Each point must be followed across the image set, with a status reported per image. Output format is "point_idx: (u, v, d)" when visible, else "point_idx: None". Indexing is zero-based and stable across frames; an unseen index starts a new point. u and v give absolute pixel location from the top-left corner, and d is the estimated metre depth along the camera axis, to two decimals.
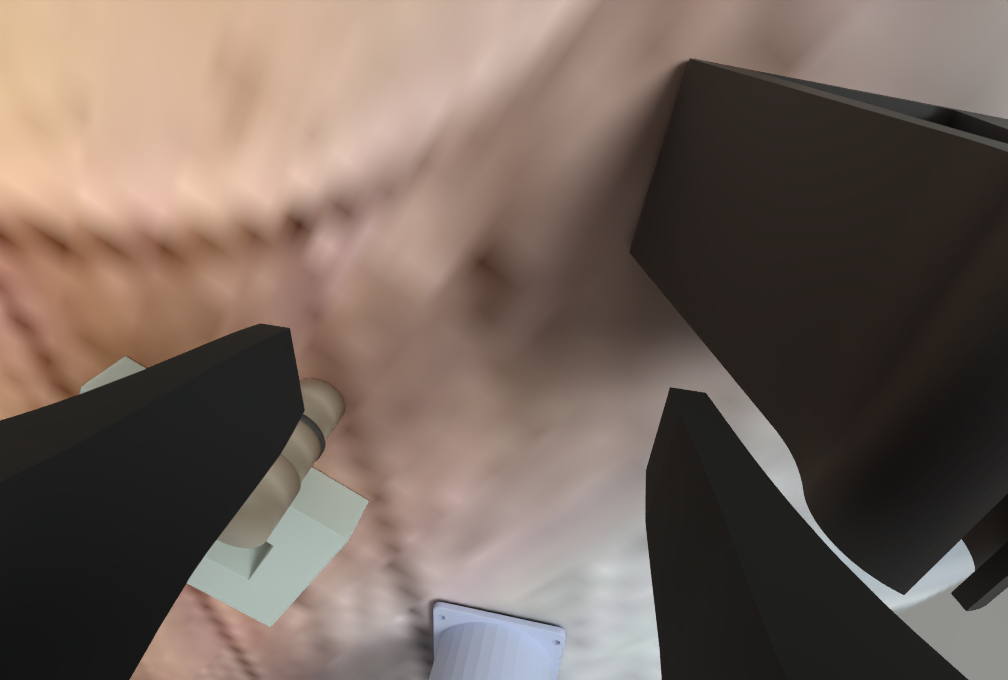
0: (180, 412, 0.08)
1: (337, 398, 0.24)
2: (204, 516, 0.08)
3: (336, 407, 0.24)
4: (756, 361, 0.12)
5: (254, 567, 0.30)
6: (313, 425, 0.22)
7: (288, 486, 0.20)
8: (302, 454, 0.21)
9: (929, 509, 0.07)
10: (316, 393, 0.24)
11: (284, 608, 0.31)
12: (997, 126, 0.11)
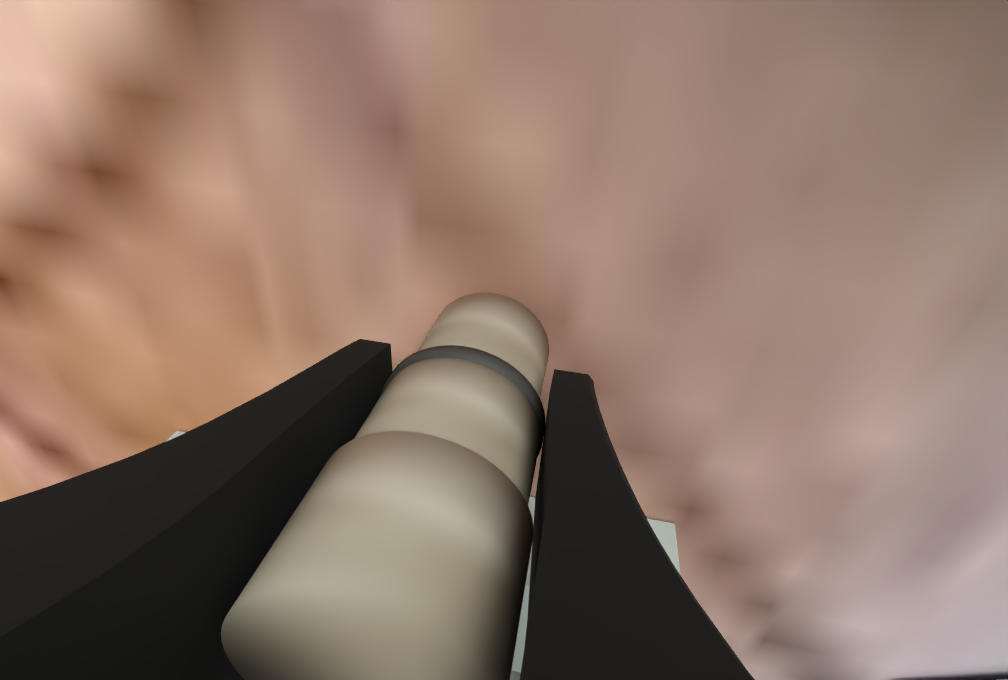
0: (310, 436, 0.07)
1: (522, 312, 0.11)
2: None
3: (527, 329, 0.10)
4: None
5: None
6: (494, 361, 0.09)
7: (495, 517, 0.06)
8: (497, 428, 0.08)
9: None
10: (473, 313, 0.10)
11: None
12: None
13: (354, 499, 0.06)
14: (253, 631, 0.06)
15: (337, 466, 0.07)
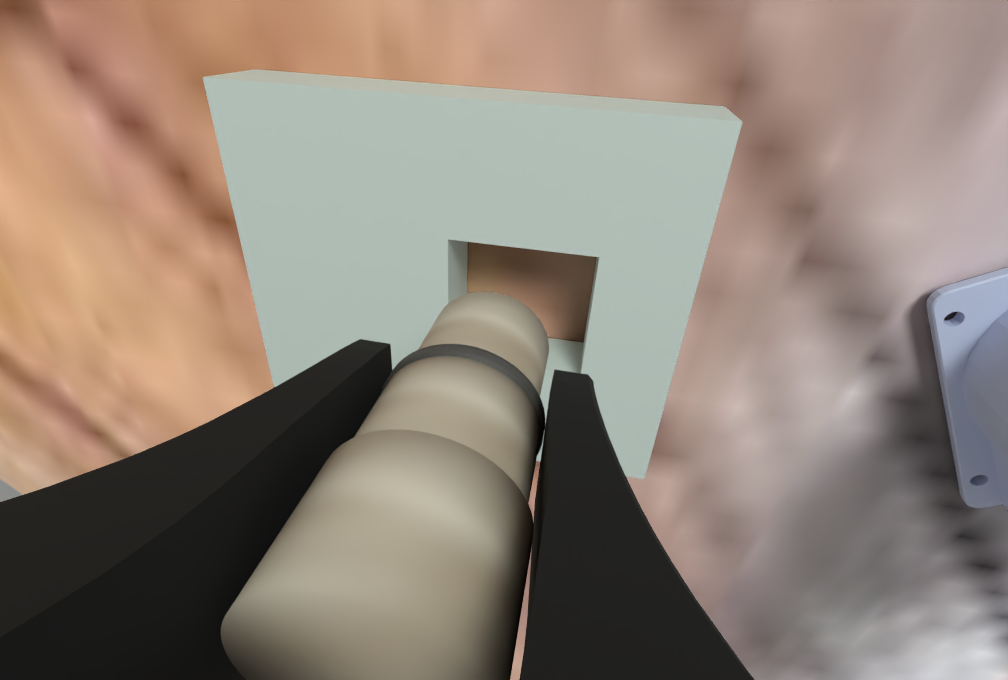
0: (310, 436, 0.07)
1: (522, 310, 0.11)
2: None
3: (527, 327, 0.10)
4: None
5: (577, 369, 0.18)
6: (494, 359, 0.09)
7: (495, 515, 0.06)
8: (497, 426, 0.08)
9: None
10: (474, 311, 0.10)
11: (657, 417, 0.17)
12: None
13: (354, 497, 0.06)
14: (253, 629, 0.06)
15: (337, 464, 0.07)
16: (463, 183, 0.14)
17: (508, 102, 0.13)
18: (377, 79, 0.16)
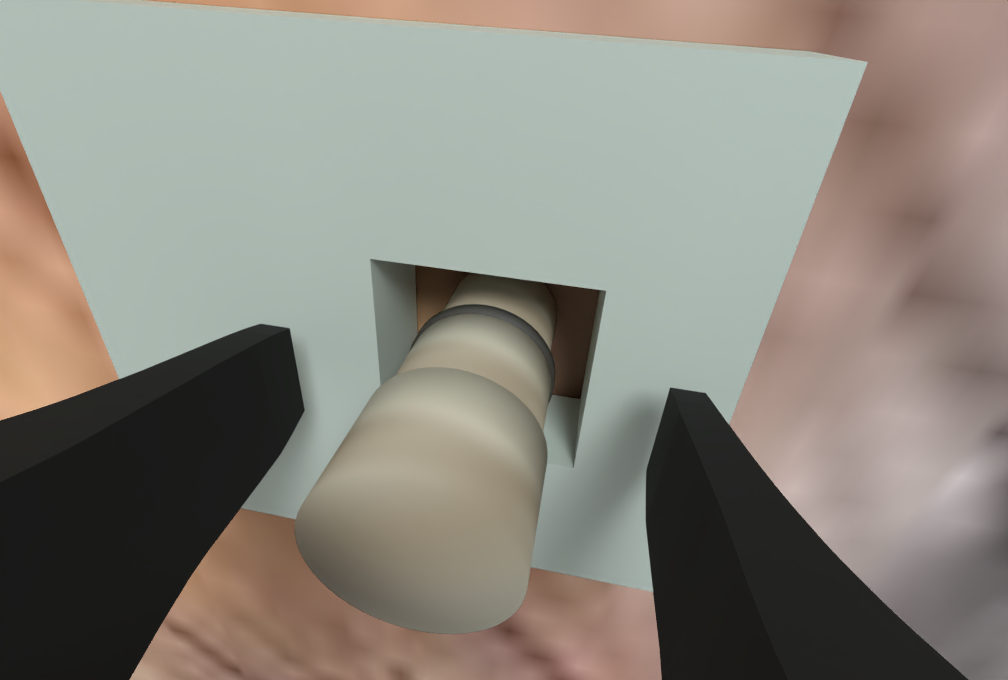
0: (180, 412, 0.08)
1: (533, 281, 0.12)
2: (204, 516, 0.08)
3: (538, 295, 0.12)
4: None
5: (571, 444, 0.12)
6: (511, 317, 0.10)
7: (517, 434, 0.08)
8: (516, 370, 0.09)
9: None
10: (490, 280, 0.11)
11: None
12: None
13: (402, 415, 0.07)
14: (323, 517, 0.07)
15: (384, 395, 0.08)
16: (388, 170, 0.09)
17: (455, 30, 0.08)
18: None
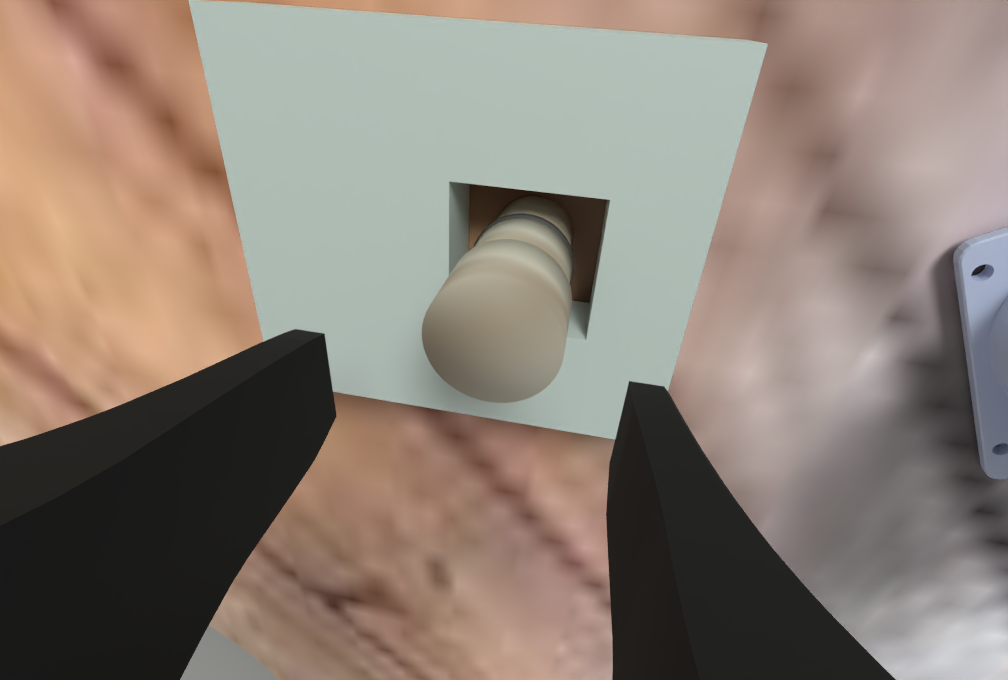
0: (225, 420, 0.07)
1: (557, 207, 0.17)
2: (244, 524, 0.08)
3: (560, 215, 0.16)
4: None
5: (583, 327, 0.17)
6: (545, 221, 0.14)
7: (555, 275, 0.12)
8: (550, 248, 0.13)
9: None
10: (527, 204, 0.16)
11: (667, 377, 0.16)
12: None
13: (486, 258, 0.12)
14: (442, 313, 0.11)
15: (470, 254, 0.12)
16: (466, 118, 0.13)
17: (516, 25, 0.12)
18: None
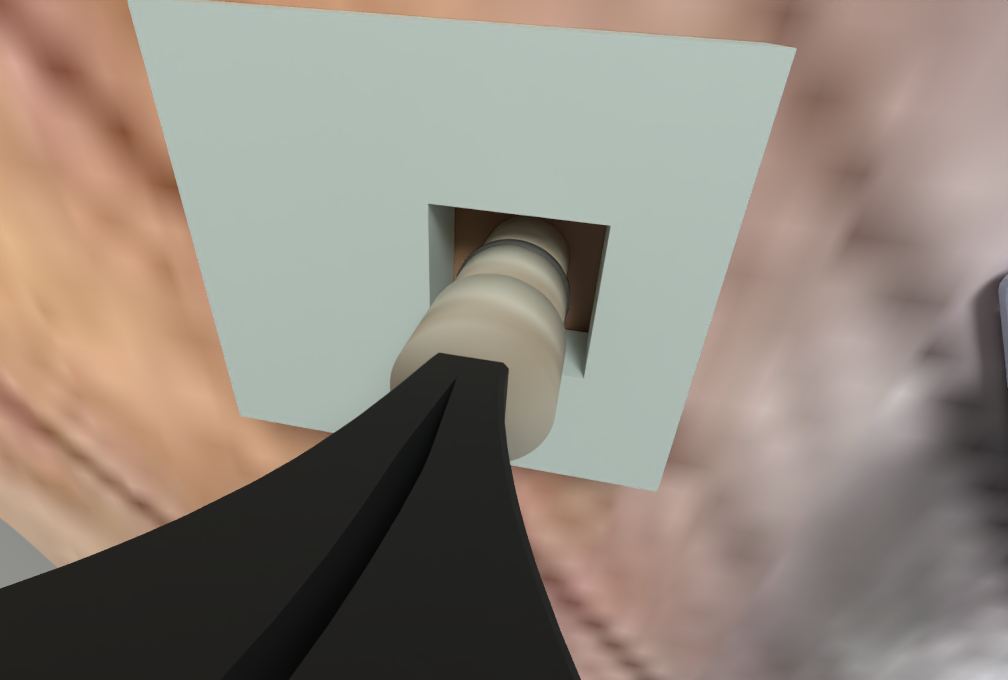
0: (414, 454, 0.07)
1: (551, 228, 0.15)
2: None
3: (555, 238, 0.15)
4: None
5: (581, 362, 0.15)
6: (537, 248, 0.13)
7: (546, 317, 0.10)
8: (542, 282, 0.12)
9: None
10: (518, 226, 0.14)
11: (674, 420, 0.15)
12: None
13: (466, 299, 0.10)
14: (413, 365, 0.10)
15: (448, 291, 0.11)
16: (446, 132, 0.12)
17: (501, 26, 0.11)
18: (345, 11, 0.13)
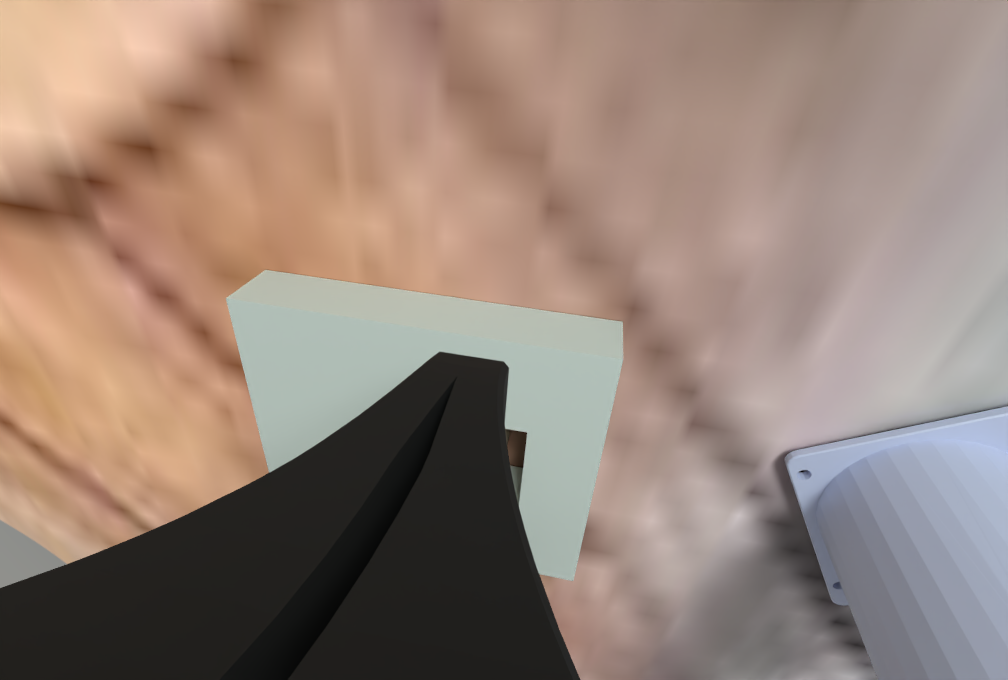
0: (414, 454, 0.07)
1: None
2: None
3: None
4: None
5: (518, 497, 0.22)
6: None
7: None
8: None
9: None
10: None
11: (579, 539, 0.22)
12: None
13: None
14: None
15: None
16: None
17: (455, 332, 0.18)
18: (360, 285, 0.20)
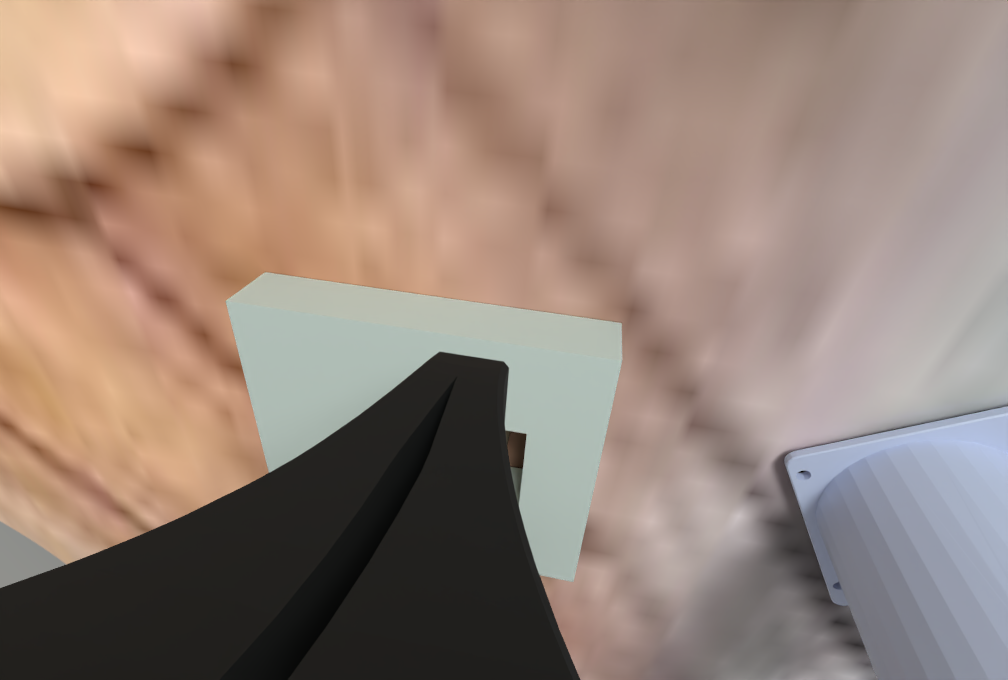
0: (414, 454, 0.07)
1: None
2: None
3: None
4: None
5: (518, 498, 0.22)
6: None
7: None
8: None
9: None
10: None
11: (579, 540, 0.22)
12: None
13: None
14: None
15: None
16: None
17: (454, 334, 0.18)
18: (359, 287, 0.20)
